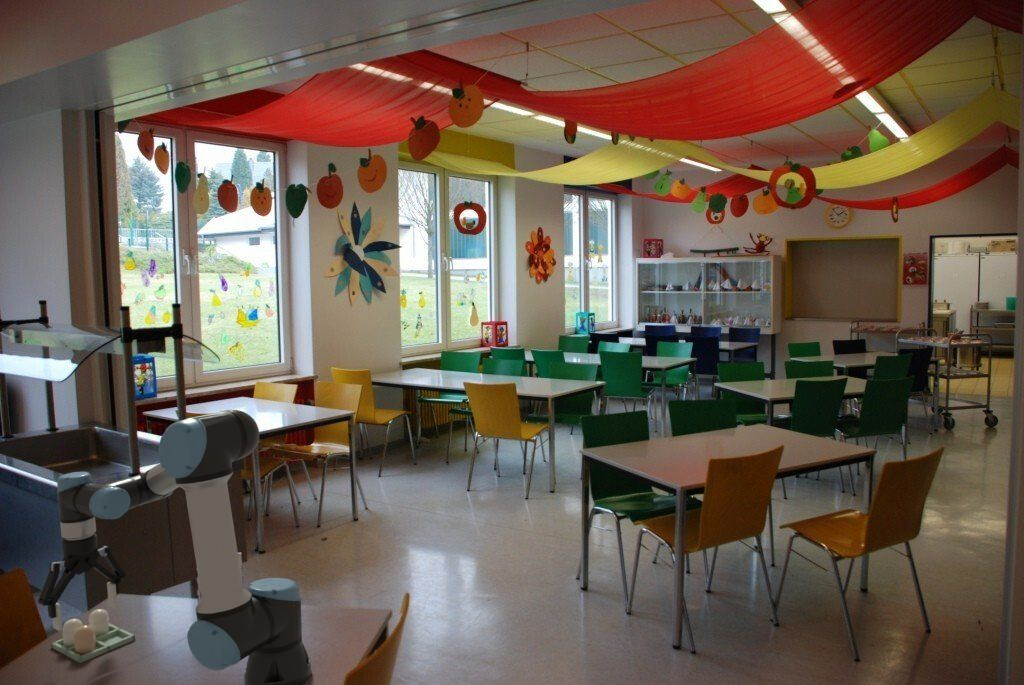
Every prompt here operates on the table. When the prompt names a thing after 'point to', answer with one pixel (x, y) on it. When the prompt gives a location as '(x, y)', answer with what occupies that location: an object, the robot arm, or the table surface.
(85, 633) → the brown egg
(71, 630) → the cream egg
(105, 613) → the cream egg
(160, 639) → the table surface
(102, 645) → the egg tray
